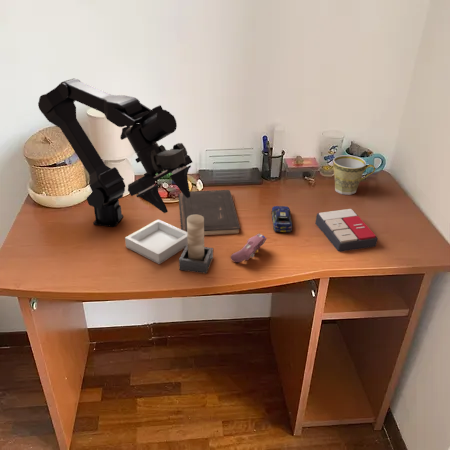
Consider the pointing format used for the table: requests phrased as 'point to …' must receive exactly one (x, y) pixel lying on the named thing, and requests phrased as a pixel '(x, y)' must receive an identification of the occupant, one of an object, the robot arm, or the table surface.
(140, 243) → the tray
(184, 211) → the hardcover book
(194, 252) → the dowel
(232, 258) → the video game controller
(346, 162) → the ceramic cup
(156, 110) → the robot arm
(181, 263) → the collar
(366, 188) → the table surface
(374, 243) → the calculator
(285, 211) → the race car
